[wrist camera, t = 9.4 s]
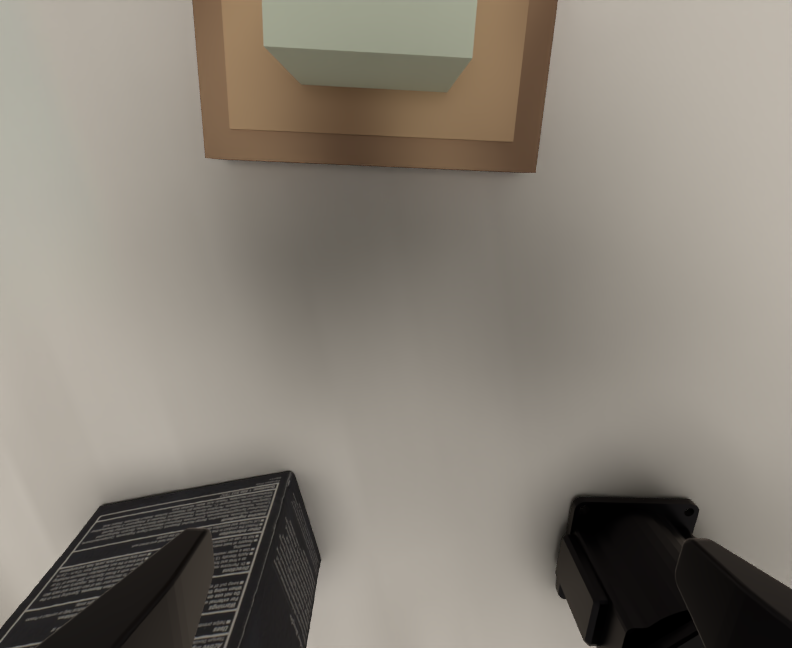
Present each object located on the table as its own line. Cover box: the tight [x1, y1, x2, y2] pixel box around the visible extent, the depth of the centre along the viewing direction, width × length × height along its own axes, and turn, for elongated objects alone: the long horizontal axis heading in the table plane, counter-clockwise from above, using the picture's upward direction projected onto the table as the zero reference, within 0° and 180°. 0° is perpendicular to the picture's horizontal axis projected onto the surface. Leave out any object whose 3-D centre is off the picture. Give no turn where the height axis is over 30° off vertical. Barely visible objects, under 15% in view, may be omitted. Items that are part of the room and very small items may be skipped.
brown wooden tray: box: [192, 0, 558, 173], centre depth 16 cm, size 12×10×2 cm
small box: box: [0, 471, 321, 648], centre depth 20 cm, size 11×6×10 cm, turn 102°
